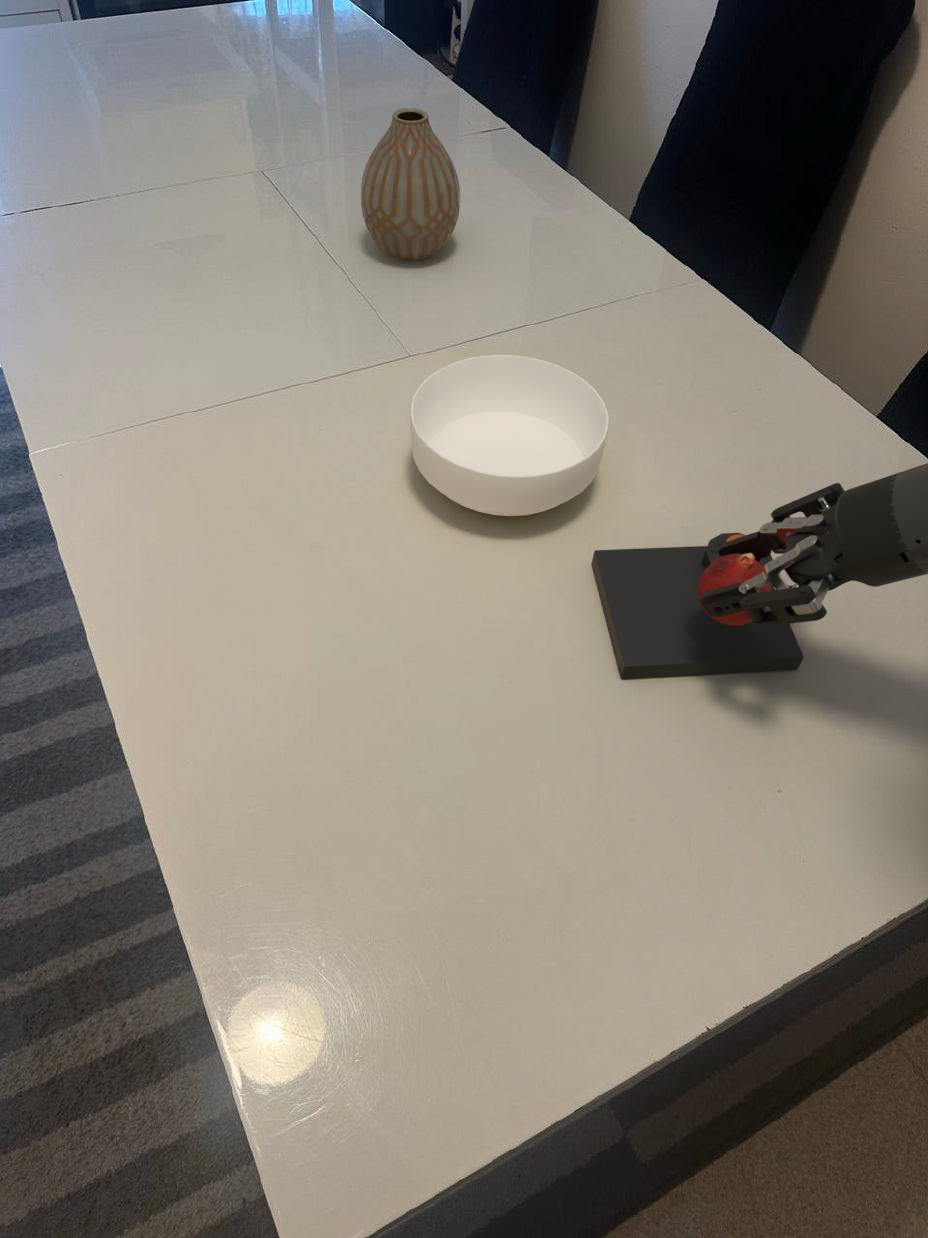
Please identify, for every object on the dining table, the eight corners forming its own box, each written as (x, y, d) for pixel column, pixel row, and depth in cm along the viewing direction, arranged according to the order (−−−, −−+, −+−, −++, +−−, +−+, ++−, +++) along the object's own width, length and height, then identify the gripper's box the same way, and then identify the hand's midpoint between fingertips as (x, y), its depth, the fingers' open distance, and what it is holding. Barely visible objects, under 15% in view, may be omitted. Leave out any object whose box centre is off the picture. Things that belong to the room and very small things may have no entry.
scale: (751, 556, 90) (761, 531, 88) (797, 670, 81) (810, 645, 79) (591, 563, 89) (596, 537, 86) (620, 679, 80) (628, 655, 77)
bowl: (513, 573, 88) (521, 508, 81) (371, 476, 96) (367, 410, 89) (633, 477, 97) (649, 412, 91) (494, 397, 106) (500, 332, 99)
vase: (343, 252, 125) (335, 116, 112) (401, 217, 133) (400, 85, 119) (420, 284, 121) (421, 146, 108) (476, 245, 128) (483, 112, 115)
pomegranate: (682, 631, 79) (704, 566, 73) (697, 586, 82) (719, 521, 76) (749, 653, 77) (777, 589, 71) (762, 607, 81) (790, 542, 75)
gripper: (910, 423, 68) (714, 495, 80) (883, 546, 59) (668, 606, 71) (953, 498, 71) (757, 557, 83) (933, 627, 62) (717, 672, 74)
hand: (716, 580), depth 77 cm, fingers closed on pomegranate, 5 cm apart
